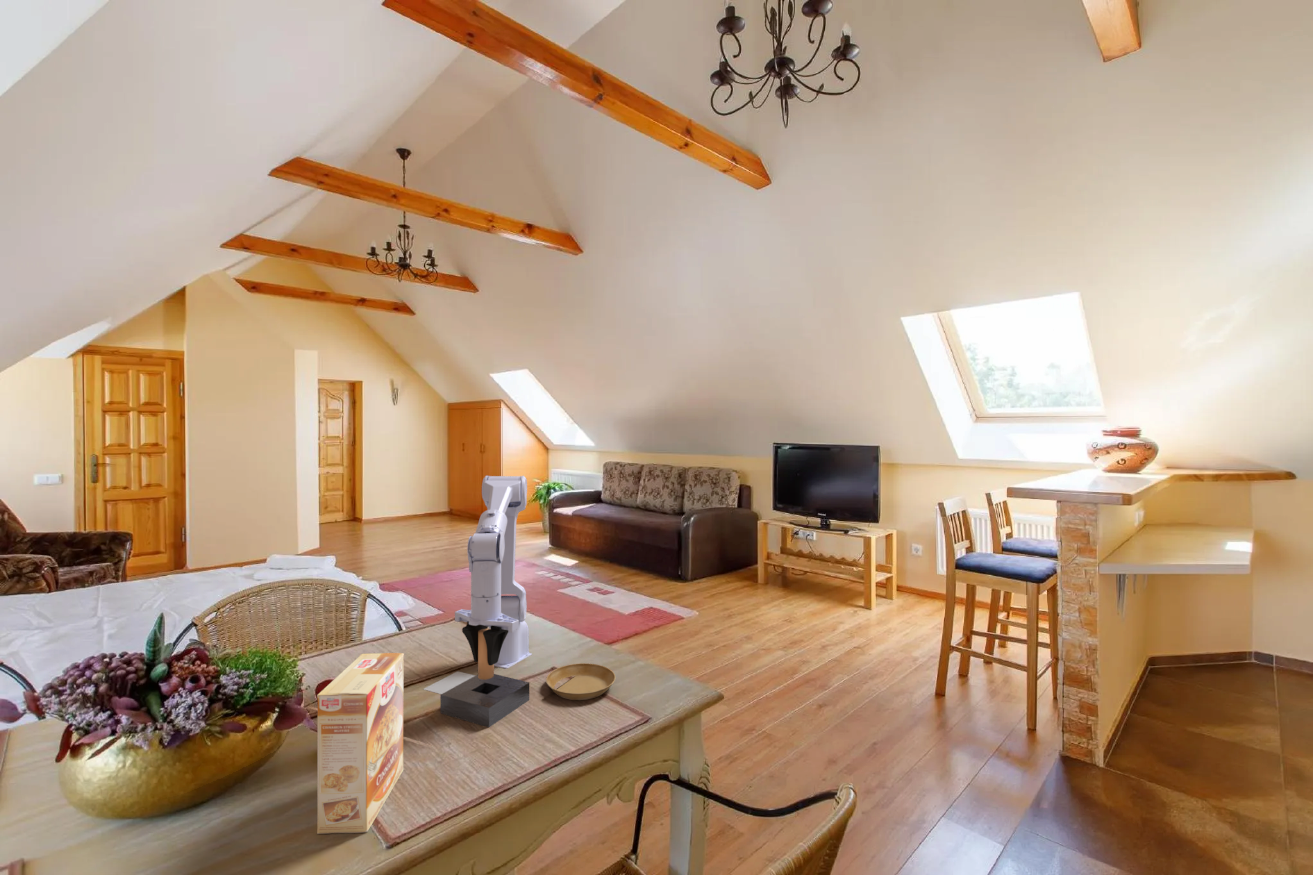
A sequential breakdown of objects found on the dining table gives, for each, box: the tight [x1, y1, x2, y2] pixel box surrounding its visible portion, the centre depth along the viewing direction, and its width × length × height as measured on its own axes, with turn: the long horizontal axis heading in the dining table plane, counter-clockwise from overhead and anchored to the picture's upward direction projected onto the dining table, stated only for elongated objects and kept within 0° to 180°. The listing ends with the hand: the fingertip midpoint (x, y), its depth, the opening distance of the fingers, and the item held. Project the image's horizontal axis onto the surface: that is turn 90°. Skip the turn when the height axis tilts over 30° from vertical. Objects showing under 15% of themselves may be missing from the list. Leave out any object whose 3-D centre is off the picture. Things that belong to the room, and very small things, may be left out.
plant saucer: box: [545, 662, 616, 701], centre depth 126 cm, size 15×15×3 cm
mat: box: [422, 671, 476, 695], centre depth 127 cm, size 10×10×1 cm
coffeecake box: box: [316, 652, 405, 835], centre depth 88 cm, size 15×7×20 cm, turn 4°
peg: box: [477, 628, 495, 680], centre depth 117 cm, size 3×3×9 cm
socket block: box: [439, 673, 530, 728], centre depth 117 cm, size 12×12×4 cm
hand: (486, 661), depth 117 cm, fingers closed on peg, 3 cm apart
